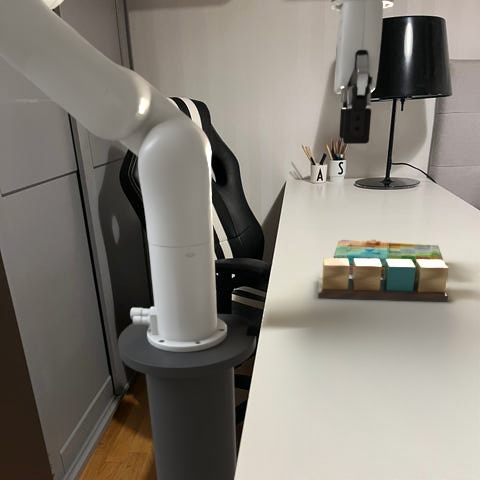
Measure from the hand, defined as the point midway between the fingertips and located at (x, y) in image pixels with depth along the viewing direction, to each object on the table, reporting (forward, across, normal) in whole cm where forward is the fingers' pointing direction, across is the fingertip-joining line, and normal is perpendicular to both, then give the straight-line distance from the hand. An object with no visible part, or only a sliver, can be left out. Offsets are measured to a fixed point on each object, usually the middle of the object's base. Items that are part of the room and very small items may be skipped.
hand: (352, 140), depth 68 cm
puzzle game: (+26, -25, +10) cm, 38 cm away
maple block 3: (+25, -12, +16) cm, 32 cm away
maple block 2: (+25, -12, +5) cm, 28 cm away
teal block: (+25, -12, +10) cm, 30 cm away
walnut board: (+26, -12, +7) cm, 30 cm away
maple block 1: (+25, -12, -1) cm, 28 cm away
